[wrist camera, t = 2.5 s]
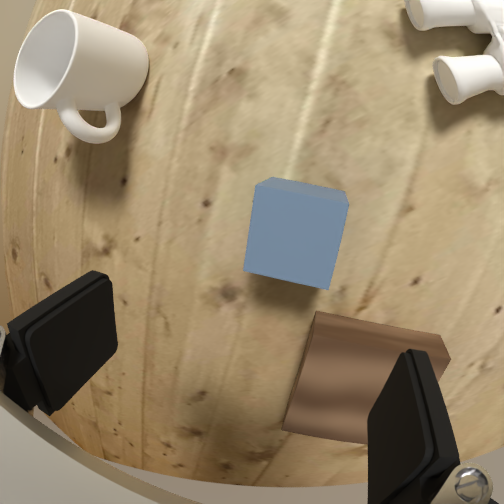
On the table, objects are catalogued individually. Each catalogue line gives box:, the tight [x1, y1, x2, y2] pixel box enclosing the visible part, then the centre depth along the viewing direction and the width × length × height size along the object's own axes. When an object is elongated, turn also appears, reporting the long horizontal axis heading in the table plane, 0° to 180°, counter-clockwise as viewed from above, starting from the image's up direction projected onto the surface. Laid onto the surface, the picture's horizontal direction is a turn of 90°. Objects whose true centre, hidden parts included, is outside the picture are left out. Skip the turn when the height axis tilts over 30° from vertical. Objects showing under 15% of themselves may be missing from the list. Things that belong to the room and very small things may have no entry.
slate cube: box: [243, 177, 349, 290], centre depth 23 cm, size 6×6×6 cm
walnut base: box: [282, 311, 451, 444], centre depth 27 cm, size 13×13×4 cm
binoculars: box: [404, 0, 504, 105], centre depth 14 cm, size 10×16×5 cm, turn 108°
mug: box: [14, 9, 149, 144], centre depth 21 cm, size 12×8×10 cm
